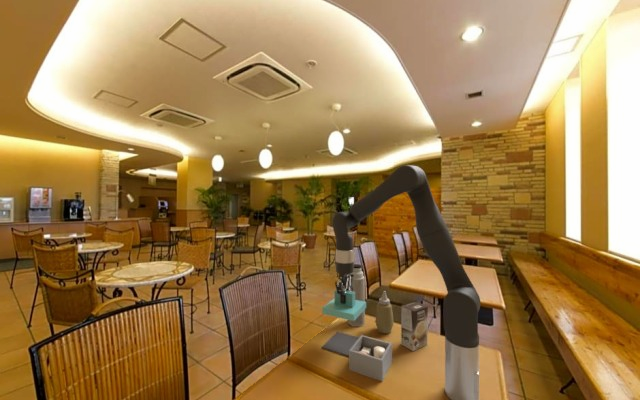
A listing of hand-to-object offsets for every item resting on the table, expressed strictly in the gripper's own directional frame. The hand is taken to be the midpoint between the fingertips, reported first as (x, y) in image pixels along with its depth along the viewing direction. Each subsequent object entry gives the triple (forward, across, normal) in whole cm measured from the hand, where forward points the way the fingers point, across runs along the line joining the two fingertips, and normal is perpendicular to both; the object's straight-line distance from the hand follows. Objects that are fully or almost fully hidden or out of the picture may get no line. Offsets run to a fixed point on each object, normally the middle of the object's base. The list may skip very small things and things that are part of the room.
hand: (344, 301), depth 111 cm
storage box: (+18, -8, -14) cm, 24 cm away
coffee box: (+18, +14, -25) cm, 34 cm away
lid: (+4, 0, 0) cm, 4 cm away
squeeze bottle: (+18, +19, -11) cm, 28 cm away
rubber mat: (+18, 0, 0) cm, 18 cm away
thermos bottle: (+18, +20, +3) cm, 27 cm away
